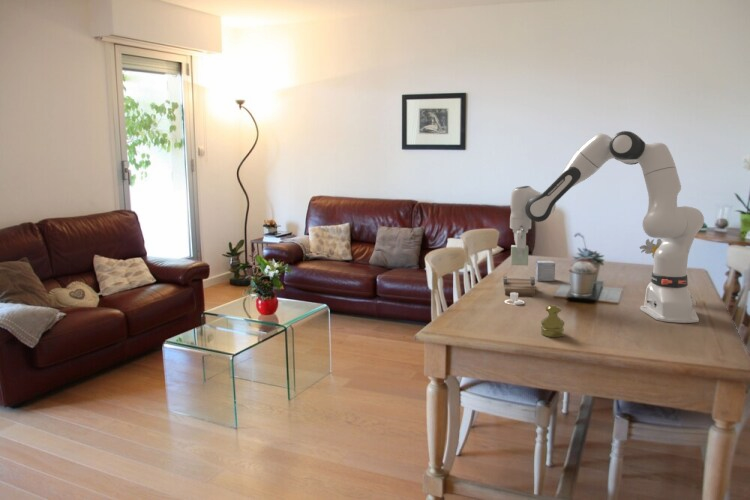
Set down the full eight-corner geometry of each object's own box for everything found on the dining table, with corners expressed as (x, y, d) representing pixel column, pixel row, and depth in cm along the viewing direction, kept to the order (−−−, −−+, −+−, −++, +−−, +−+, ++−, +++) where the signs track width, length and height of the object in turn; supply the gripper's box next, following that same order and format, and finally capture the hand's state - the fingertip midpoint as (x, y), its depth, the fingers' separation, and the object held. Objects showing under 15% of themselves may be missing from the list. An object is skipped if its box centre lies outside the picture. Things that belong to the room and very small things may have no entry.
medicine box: (552, 279, 269) (553, 260, 268) (554, 281, 265) (555, 262, 263) (535, 278, 270) (536, 260, 268) (537, 281, 266) (537, 262, 264)
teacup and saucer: (524, 306, 227) (525, 296, 227) (504, 306, 229) (504, 296, 228) (524, 300, 236) (524, 291, 235) (504, 300, 238) (504, 290, 237)
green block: (527, 265, 246) (528, 247, 245) (511, 265, 247) (511, 246, 246) (527, 263, 250) (527, 245, 248) (510, 263, 251) (511, 245, 250)
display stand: (535, 296, 241) (536, 283, 240) (503, 295, 243) (504, 282, 242) (532, 285, 258) (532, 273, 257) (502, 284, 261) (503, 272, 260)
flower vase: (686, 302, 228) (691, 243, 223) (637, 299, 234) (641, 241, 229) (680, 294, 239) (685, 237, 235) (634, 291, 245) (638, 236, 241)
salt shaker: (567, 333, 194) (568, 305, 193) (557, 339, 189) (559, 310, 187) (547, 329, 199) (548, 301, 197) (537, 334, 194) (538, 306, 192)
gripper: (529, 228, 235) (528, 261, 237) (526, 221, 254) (525, 251, 257) (514, 228, 236) (513, 261, 239) (511, 220, 256) (511, 251, 258)
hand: (519, 256), depth 248 cm, fingers closed on green block, 4 cm apart
